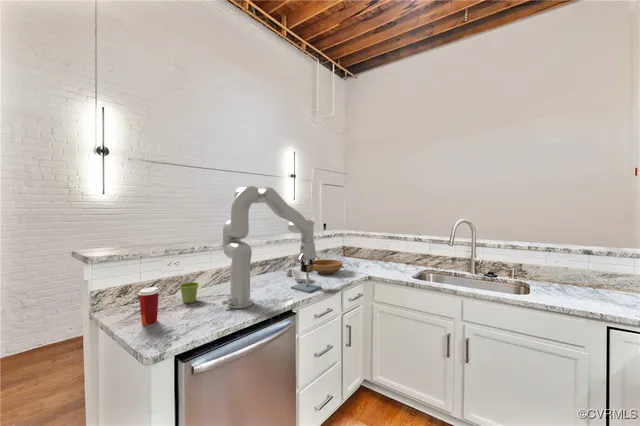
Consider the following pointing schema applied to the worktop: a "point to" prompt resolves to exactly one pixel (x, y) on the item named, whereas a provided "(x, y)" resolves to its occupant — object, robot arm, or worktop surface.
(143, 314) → the paper cup
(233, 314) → the worktop surface
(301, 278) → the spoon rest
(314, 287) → the post board
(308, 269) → the collar
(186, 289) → the plant pot
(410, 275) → the worktop surface
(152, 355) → the worktop surface
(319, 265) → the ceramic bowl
